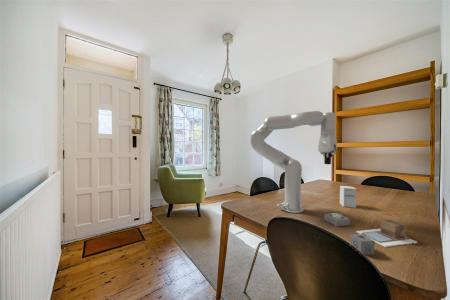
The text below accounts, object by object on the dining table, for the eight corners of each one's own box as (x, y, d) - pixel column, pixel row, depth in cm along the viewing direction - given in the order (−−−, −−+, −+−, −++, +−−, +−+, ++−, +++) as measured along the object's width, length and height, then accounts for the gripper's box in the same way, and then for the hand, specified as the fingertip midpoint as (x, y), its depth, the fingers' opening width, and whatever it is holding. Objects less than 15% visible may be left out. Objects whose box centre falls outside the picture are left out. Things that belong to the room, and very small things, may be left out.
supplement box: (343, 206, 113) (343, 187, 113) (339, 203, 120) (339, 185, 120) (356, 208, 111) (356, 188, 111) (351, 204, 118) (352, 186, 118)
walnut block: (394, 238, 71) (394, 225, 71) (380, 232, 77) (380, 220, 77) (405, 237, 72) (405, 224, 72) (390, 231, 78) (391, 219, 78)
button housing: (336, 226, 85) (336, 220, 85) (324, 219, 92) (324, 214, 92) (349, 224, 86) (350, 219, 86) (336, 218, 94) (336, 213, 94)
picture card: (385, 247, 67) (385, 245, 67) (356, 232, 78) (356, 230, 78) (417, 243, 70) (417, 241, 70) (384, 229, 81) (384, 227, 81)
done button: (336, 223, 87) (336, 216, 87) (329, 220, 91) (329, 213, 91) (343, 223, 88) (343, 215, 87) (336, 219, 92) (336, 212, 92)
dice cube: (362, 246, 67) (363, 234, 67) (374, 254, 62) (374, 241, 62) (350, 247, 67) (350, 234, 67) (361, 254, 62) (361, 241, 62)
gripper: (313, 134, 109) (313, 163, 110) (332, 132, 95) (332, 165, 95) (323, 134, 111) (323, 163, 111) (344, 132, 96) (343, 165, 96)
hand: (327, 164), depth 103 cm, fingers closed
